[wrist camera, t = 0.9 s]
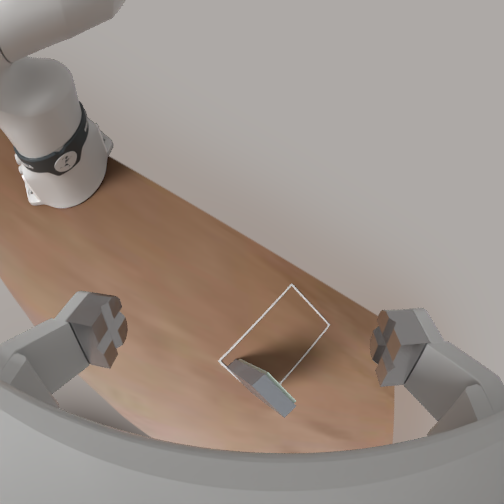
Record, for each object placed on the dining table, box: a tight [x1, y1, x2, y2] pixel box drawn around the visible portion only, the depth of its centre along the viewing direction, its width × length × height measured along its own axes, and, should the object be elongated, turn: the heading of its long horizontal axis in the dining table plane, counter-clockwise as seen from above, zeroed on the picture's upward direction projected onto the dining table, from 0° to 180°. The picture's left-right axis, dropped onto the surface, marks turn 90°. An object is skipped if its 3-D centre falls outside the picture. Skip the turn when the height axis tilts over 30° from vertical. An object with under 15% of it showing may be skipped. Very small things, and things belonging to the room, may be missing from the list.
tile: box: [227, 359, 296, 418], centre depth 37 cm, size 6×2×14 cm, turn 42°
